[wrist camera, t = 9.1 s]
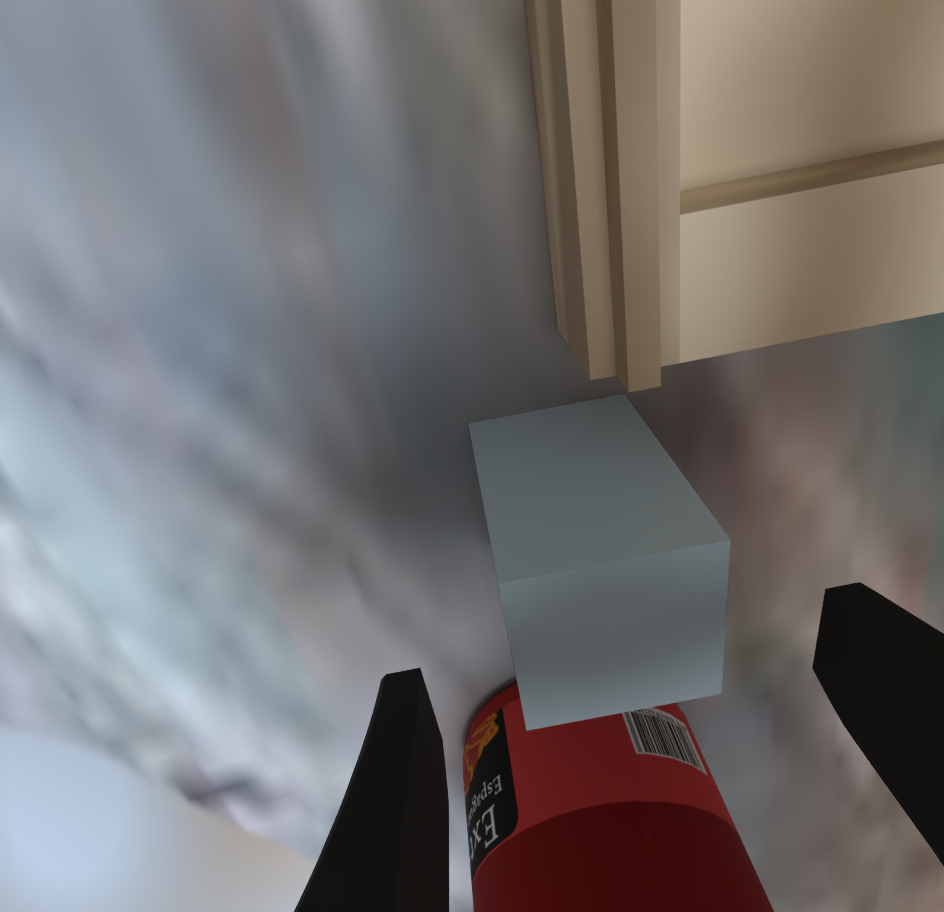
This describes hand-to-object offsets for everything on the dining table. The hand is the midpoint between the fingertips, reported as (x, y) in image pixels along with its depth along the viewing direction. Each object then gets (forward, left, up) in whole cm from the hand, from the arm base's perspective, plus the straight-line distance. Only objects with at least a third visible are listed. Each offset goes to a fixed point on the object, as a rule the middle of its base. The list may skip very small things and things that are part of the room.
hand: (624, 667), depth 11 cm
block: (0, 0, -7) cm, 7 cm away
